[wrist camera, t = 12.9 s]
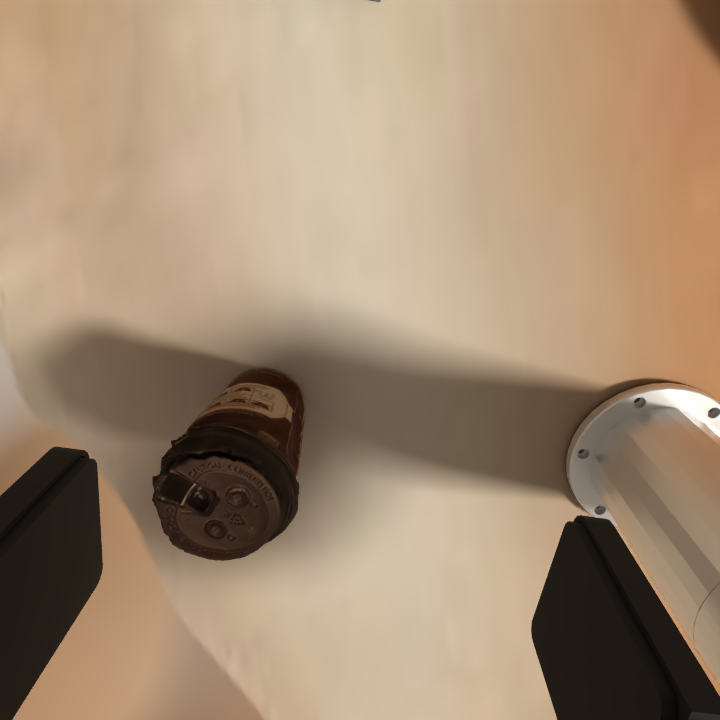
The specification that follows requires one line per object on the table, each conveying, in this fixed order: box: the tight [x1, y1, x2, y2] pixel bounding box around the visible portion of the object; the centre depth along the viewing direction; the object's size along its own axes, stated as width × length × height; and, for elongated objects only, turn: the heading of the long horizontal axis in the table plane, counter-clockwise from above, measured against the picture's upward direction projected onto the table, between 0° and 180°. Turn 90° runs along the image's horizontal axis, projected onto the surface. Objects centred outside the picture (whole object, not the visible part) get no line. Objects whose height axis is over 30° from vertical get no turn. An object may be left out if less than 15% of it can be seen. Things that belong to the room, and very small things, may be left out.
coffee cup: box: [152, 369, 304, 561], centre depth 35 cm, size 9×8×13 cm
